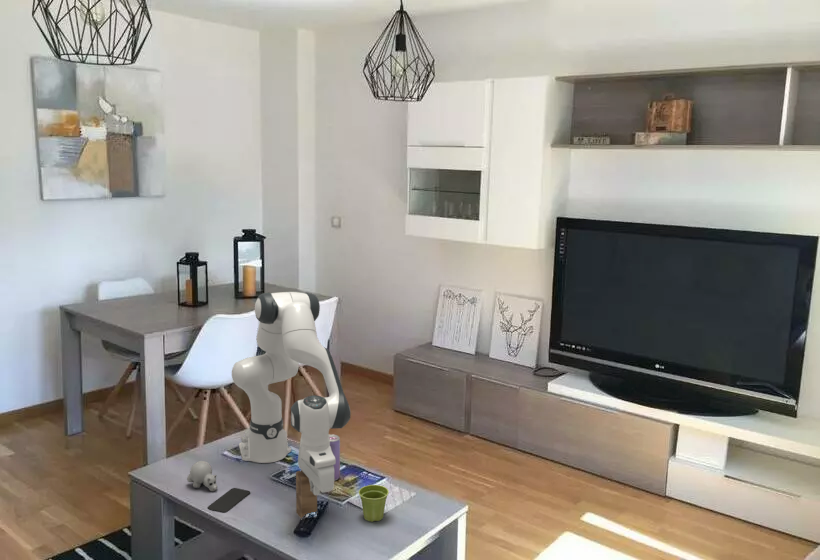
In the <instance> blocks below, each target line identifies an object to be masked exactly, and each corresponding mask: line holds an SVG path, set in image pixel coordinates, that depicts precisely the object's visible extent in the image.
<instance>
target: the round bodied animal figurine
mask: <svg viewBox="0 0 820 560" xmlns="http://www.w3.org/2000/svg"><path fill="white" fill-rule="evenodd" d="M186 480H187V482H188V483H192V488H195V489H200V488H201V486H202V485H204V486H205V487H207V488H208V490H209V491H210V492H215V491H216V490H217V489H218V485H217V474H214V475H213V468H212V466H211V465H210V463H209V462H207V461H203V460H199V461H196V462H195V463H193V465H192V466H191V467H190V470H189V474H188V475H187V478H186Z"/></svg>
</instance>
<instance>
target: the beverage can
mask: <svg viewBox="0 0 820 560" xmlns="http://www.w3.org/2000/svg"><path fill="white" fill-rule="evenodd" d="M329 438H330V447H331V450H332V453H333V455H334V456H335V459H336V463H335V464H334V465H333V466H334V482H335V481H338V480H339V479H340V477H341V440H340V439H341V438H340V436H339V435H337V434H329Z"/></svg>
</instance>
